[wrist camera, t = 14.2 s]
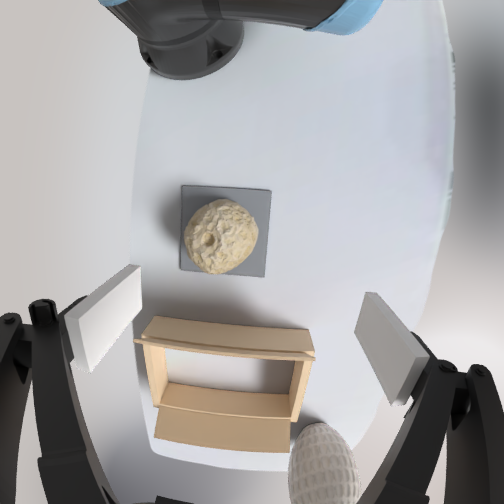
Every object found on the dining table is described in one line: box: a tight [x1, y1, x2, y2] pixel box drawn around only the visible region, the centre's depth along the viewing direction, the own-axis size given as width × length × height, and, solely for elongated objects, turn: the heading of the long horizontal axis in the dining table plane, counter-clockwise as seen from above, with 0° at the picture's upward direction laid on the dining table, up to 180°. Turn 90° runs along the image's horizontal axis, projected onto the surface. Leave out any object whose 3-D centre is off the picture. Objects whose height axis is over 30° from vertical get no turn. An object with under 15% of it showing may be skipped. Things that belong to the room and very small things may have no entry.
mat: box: [181, 186, 272, 277], centre depth 38 cm, size 12×12×1 cm
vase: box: [288, 423, 361, 504], centre depth 35 cm, size 13×13×28 cm
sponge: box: [184, 199, 259, 274], centre depth 36 cm, size 9×10×10 cm
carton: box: [133, 316, 315, 453], centre depth 39 cm, size 20×24×11 cm
